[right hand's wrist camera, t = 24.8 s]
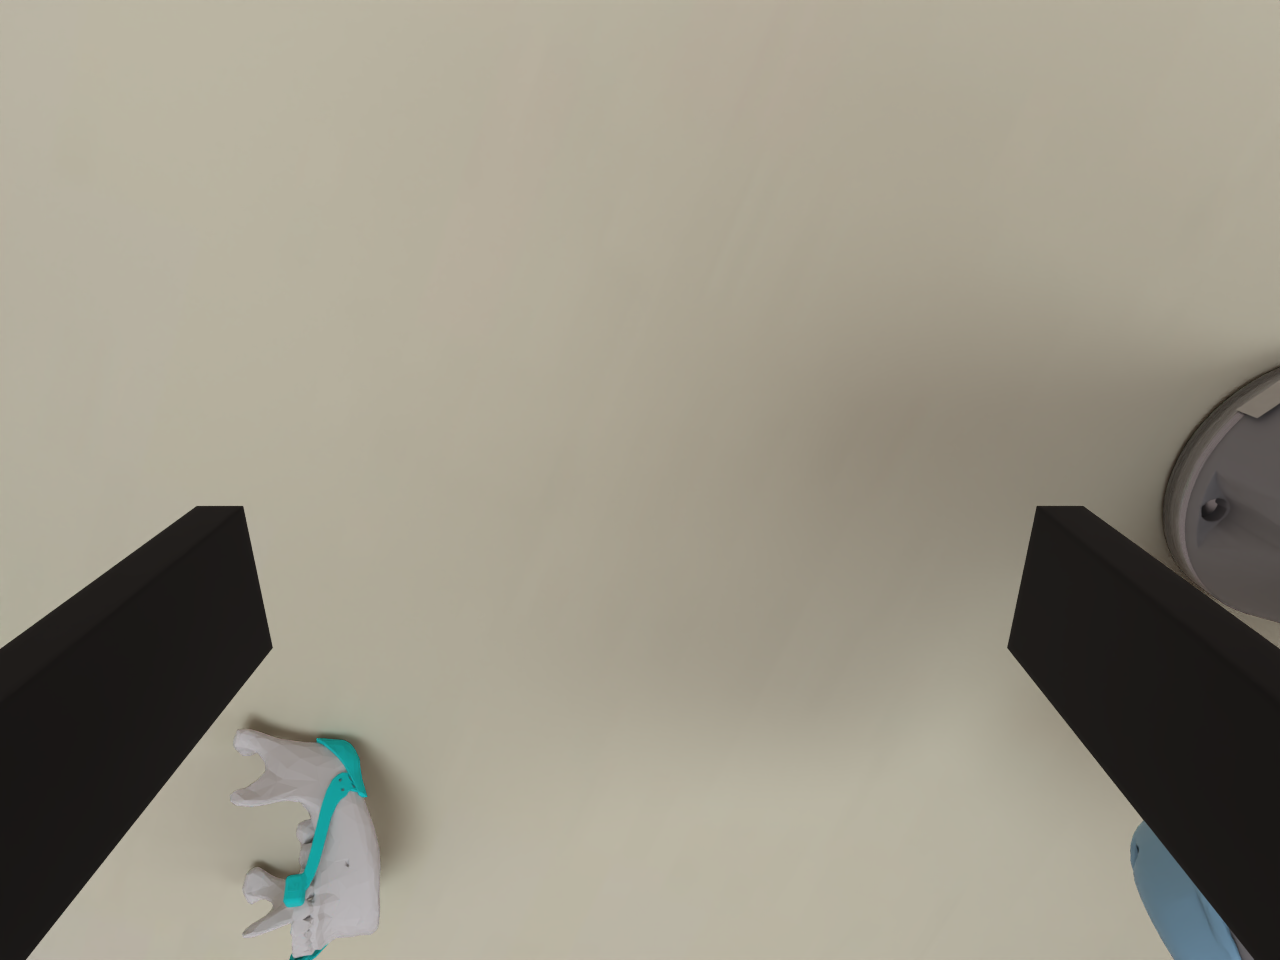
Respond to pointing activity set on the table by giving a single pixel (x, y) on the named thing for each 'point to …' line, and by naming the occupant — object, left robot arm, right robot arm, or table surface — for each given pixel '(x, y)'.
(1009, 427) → the table surface
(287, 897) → the anatomical model
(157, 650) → the right robot arm
